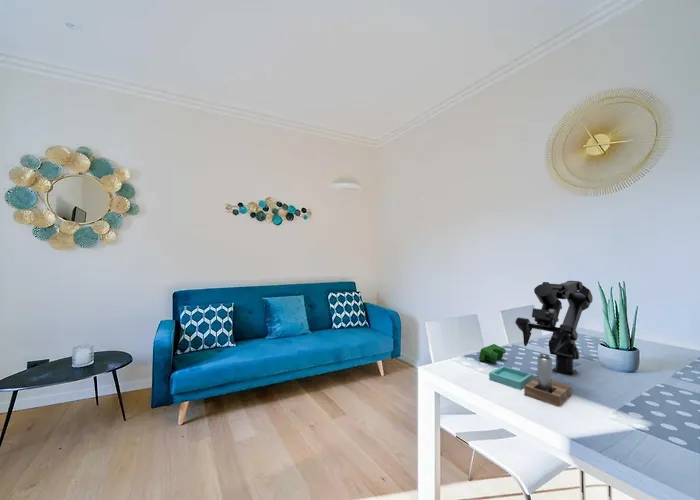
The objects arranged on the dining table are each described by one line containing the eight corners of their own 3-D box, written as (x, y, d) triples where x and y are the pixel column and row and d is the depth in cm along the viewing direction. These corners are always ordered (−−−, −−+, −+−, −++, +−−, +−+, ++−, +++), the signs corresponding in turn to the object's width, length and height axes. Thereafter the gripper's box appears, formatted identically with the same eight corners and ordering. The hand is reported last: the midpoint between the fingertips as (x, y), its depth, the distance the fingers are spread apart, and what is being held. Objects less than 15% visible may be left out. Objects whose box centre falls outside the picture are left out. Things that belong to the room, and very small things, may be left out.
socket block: (538, 384, 108) (538, 376, 108) (571, 394, 100) (571, 385, 100) (524, 394, 101) (524, 385, 101) (559, 406, 93) (559, 396, 93)
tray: (502, 371, 120) (502, 365, 120) (532, 380, 111) (532, 374, 111) (489, 379, 113) (489, 372, 113) (520, 389, 105) (520, 382, 105)
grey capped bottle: (540, 393, 102) (540, 352, 102) (554, 397, 99) (553, 355, 99) (536, 396, 99) (535, 354, 99) (549, 401, 96) (549, 357, 96)
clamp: (491, 373, 129) (491, 357, 126) (479, 366, 134) (478, 350, 130) (506, 358, 135) (507, 342, 131) (494, 351, 140) (494, 336, 136)
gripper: (516, 296, 116) (503, 331, 110) (573, 303, 101) (562, 343, 95) (526, 312, 121) (514, 346, 115) (582, 320, 106) (572, 360, 100)
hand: (538, 348), depth 106 cm, fingers open, 9 cm apart
